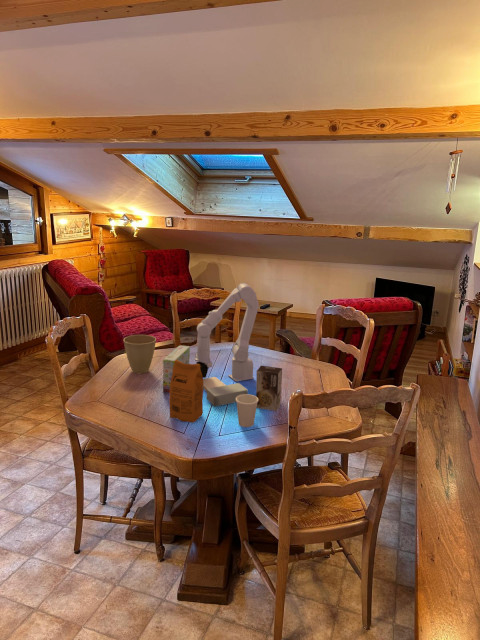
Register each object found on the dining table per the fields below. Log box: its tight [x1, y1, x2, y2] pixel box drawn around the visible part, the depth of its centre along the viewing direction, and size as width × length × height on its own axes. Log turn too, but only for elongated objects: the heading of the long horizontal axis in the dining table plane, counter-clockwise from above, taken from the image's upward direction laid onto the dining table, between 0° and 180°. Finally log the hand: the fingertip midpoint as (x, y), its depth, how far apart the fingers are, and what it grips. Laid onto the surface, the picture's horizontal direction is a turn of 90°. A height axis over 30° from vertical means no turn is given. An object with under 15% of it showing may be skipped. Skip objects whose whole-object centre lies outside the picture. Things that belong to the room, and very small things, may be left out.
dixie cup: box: [235, 393, 258, 428], centre depth 170 cm, size 8×8×10 cm
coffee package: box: [168, 360, 204, 424], centre depth 173 cm, size 10×12×22 cm
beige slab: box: [206, 382, 249, 407], centre depth 191 cm, size 15×8×4 cm, turn 118°
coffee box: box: [255, 365, 283, 412], centre depth 184 cm, size 9×6×16 cm
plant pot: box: [123, 334, 157, 374], centre depth 218 cm, size 15×15×16 cm
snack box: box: [162, 345, 191, 394], centre depth 204 cm, size 21×6×15 cm, turn 168°
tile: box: [203, 376, 226, 393], centre depth 204 cm, size 9×13×2 cm
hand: (203, 377), depth 212 cm, fingers closed
